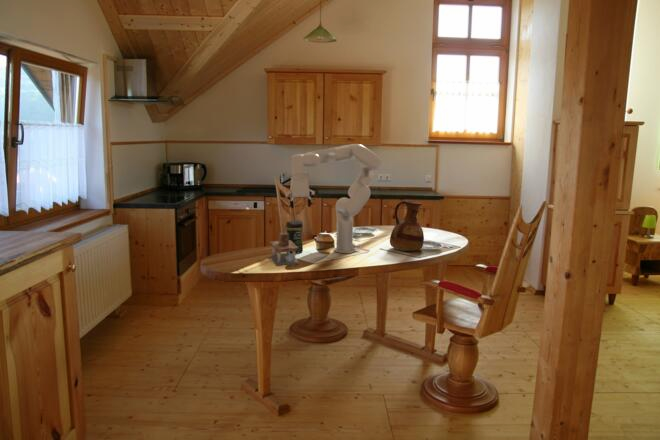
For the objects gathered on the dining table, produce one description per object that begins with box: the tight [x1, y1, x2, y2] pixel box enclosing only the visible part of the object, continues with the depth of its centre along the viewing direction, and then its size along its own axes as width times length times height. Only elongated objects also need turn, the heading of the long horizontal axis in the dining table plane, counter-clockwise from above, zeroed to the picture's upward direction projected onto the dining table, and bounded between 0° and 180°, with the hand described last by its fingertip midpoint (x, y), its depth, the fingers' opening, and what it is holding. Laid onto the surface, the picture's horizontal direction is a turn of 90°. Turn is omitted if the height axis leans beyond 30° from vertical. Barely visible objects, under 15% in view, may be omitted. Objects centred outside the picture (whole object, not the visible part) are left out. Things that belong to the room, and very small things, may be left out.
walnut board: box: [269, 232, 299, 253], centre depth 282 cm, size 12×20×8 cm, turn 17°
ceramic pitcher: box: [389, 199, 425, 252], centre depth 309 cm, size 20×20×30 cm
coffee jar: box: [285, 220, 304, 254], centre depth 302 cm, size 10×8×19 cm
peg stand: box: [269, 248, 300, 267], centre depth 283 cm, size 12×20×8 cm, turn 17°
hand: (300, 207), depth 292 cm, fingers open, 9 cm apart
